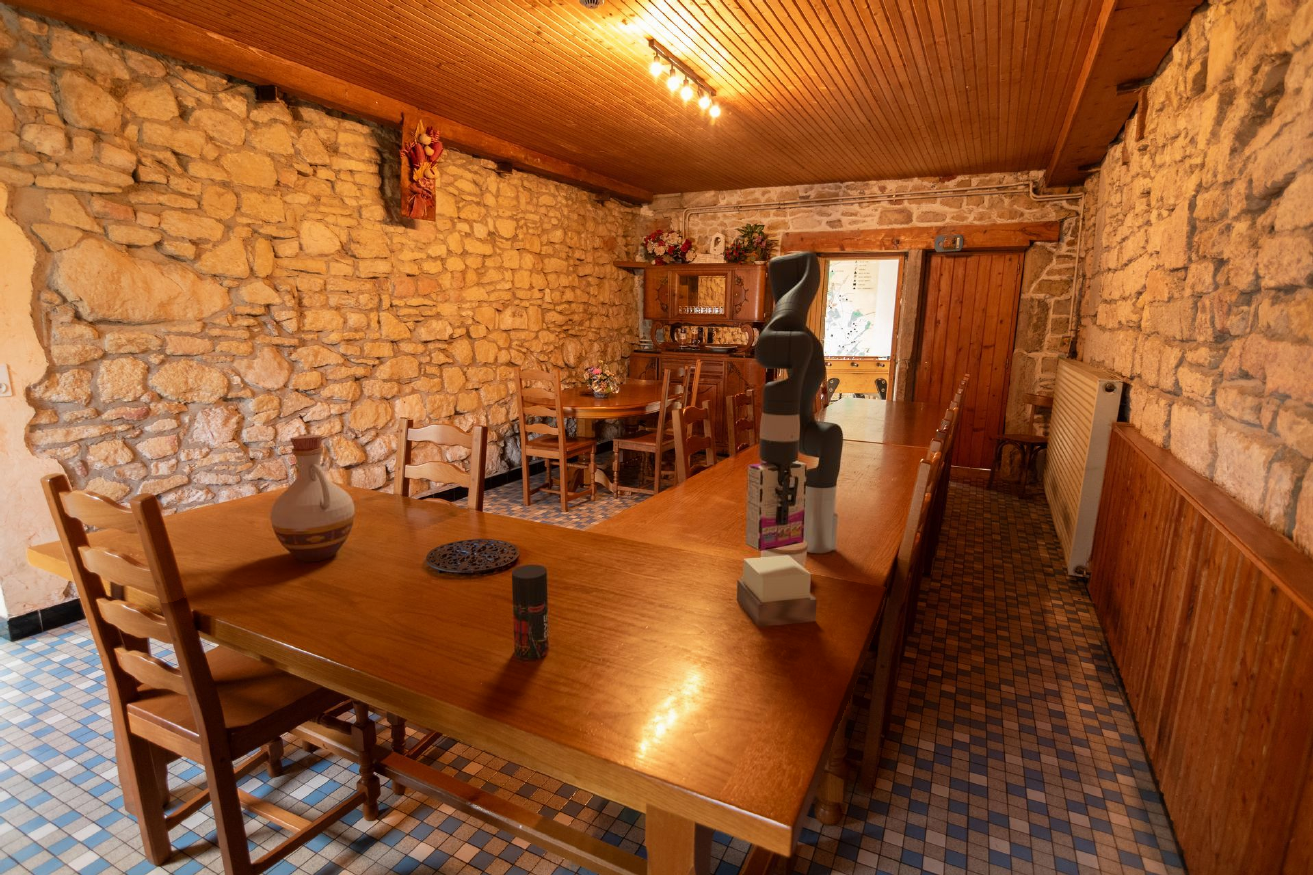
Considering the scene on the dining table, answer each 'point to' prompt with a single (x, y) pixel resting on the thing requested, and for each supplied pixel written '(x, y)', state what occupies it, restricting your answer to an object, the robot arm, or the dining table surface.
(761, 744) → the dining table surface
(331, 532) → the jug
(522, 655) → the deodorant
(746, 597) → the walnut slab
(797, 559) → the lidded jar
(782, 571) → the cream square block
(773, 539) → the candy bar box
